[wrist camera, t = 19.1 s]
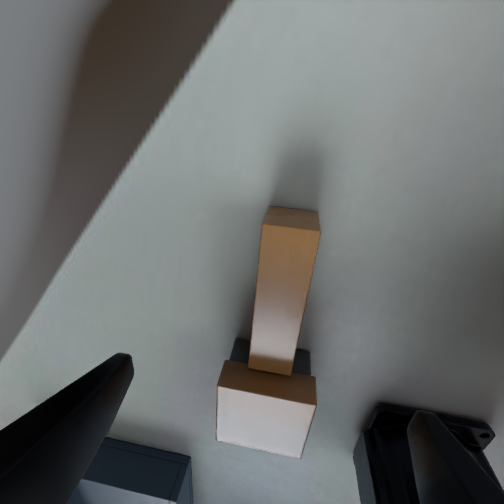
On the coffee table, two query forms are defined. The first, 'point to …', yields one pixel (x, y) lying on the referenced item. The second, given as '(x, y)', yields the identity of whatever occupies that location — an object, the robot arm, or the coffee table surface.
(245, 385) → the brush
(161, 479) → the tray
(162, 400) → the coffee table surface
